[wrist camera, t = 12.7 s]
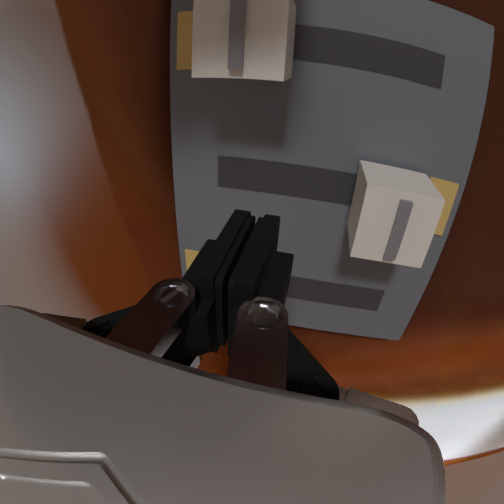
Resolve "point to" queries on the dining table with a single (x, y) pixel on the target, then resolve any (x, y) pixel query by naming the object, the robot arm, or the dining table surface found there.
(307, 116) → the switch unit
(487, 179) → the dining table surface
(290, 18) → the switch
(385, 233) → the switch
